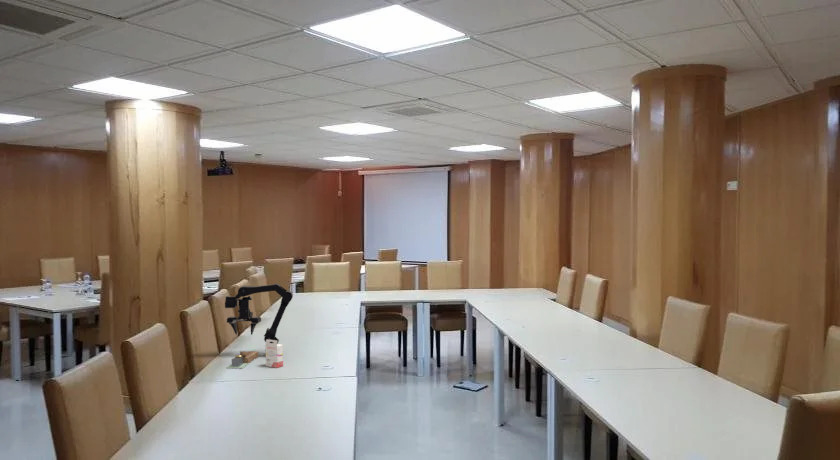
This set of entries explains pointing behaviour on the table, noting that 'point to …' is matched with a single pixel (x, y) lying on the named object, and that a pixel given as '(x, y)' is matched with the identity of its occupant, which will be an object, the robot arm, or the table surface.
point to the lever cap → (237, 361)
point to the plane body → (249, 356)
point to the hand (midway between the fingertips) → (244, 334)
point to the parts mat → (239, 366)
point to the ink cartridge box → (274, 354)
